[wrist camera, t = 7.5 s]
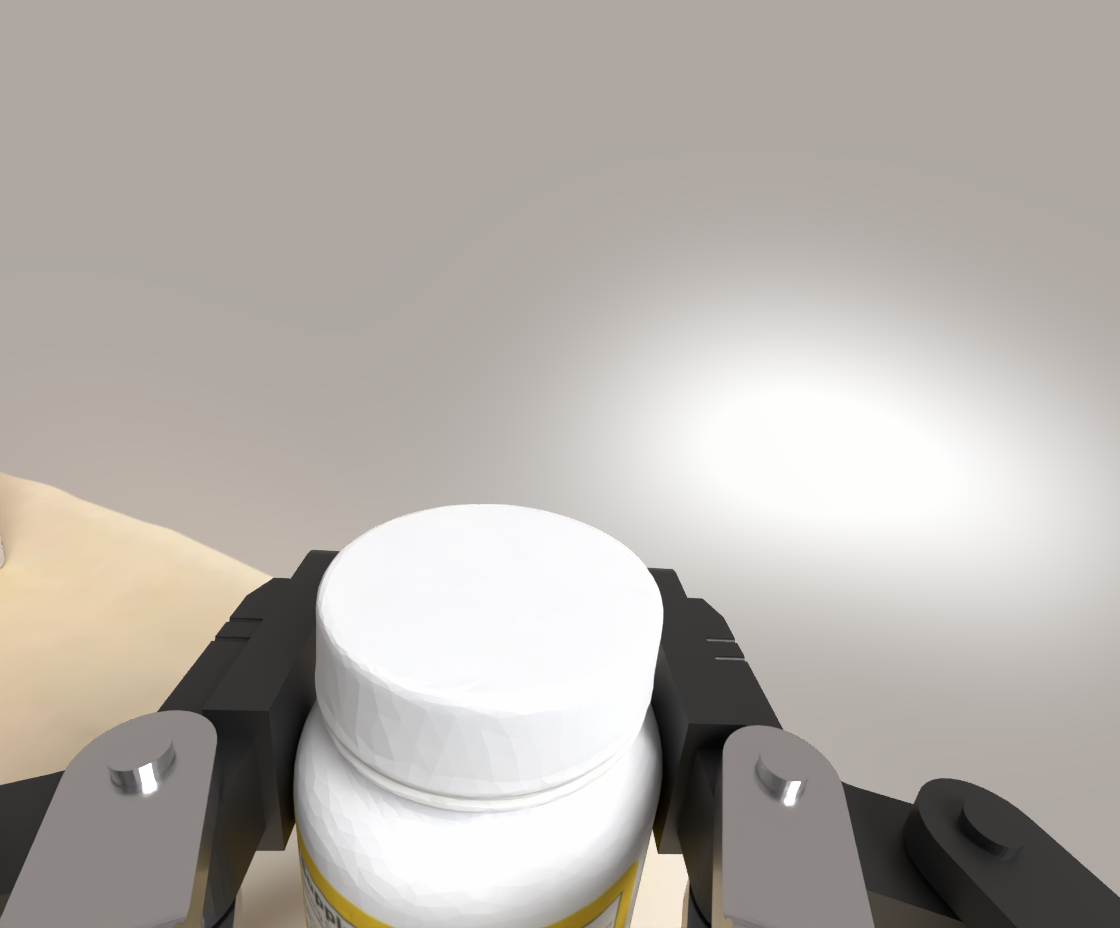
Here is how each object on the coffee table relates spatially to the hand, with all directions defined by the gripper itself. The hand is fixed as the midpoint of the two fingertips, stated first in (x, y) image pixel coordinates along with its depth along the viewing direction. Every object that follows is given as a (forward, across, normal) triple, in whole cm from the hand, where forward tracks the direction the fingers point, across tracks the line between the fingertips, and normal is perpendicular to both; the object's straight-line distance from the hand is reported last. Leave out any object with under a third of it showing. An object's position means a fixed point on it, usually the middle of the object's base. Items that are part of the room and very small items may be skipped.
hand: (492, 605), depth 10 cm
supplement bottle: (-3, 0, +6) cm, 7 cm away
